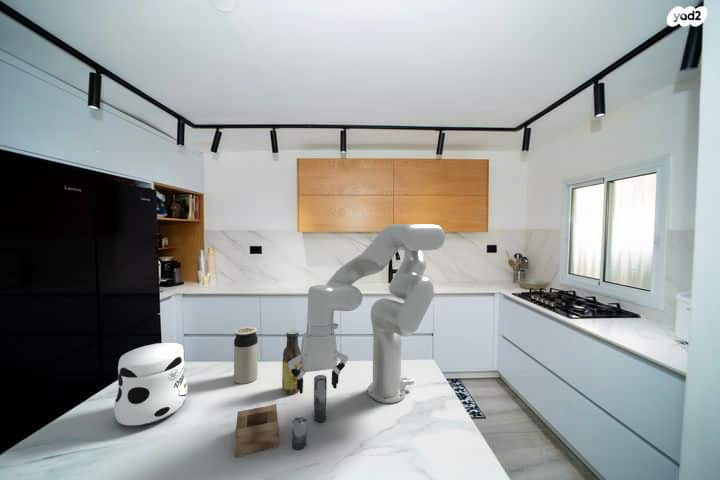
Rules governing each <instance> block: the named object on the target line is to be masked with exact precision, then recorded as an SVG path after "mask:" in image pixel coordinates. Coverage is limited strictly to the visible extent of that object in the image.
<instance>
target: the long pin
mask: <svg viewBox="0 0 720 480" xmlns="http://www.w3.org/2000/svg"><path fill="white" fill-rule="evenodd" d="M327 380H328V379H327V376H326V375H325V374H318V375H316V376H314V378H313V422H314V423H316V424H323V423H325V422H326V421H327V387H328V385H327V383H328V382H327Z"/></svg>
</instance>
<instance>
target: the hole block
mask: <svg viewBox="0 0 720 480" xmlns="http://www.w3.org/2000/svg"><path fill="white" fill-rule="evenodd" d="M277 407H278V406H277V404H271V405H270V404H269V405H265V406H260V407H259V406H258V407H255V408H249V409H244V410H239V411H237V415H236V416H237V417H236V424H235V426H236V427H235V432H234V458H239V457H243V456H247V455H250V454H251V455H252V454H254V453H259V452H263V451H267V450H271V449H275V448H279V446H280V445H279V444H280V443H279V439H280V438H279V436H280V434H279V433H280V432H279V431H280V430H279V429H280V427H279V417H278V409H277Z"/></svg>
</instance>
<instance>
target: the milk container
mask: <svg viewBox="0 0 720 480" xmlns="http://www.w3.org/2000/svg"><path fill="white" fill-rule="evenodd" d="M184 353H185V352H184V346H183V345H182V344H180V343H176V342H161V343H160V342H158V343H153V344H148V345H144V346H140V347H138V348H137V347H136V348H135V349H132V350H130V351H127V352H126V353H124V354H123V355H121V356H120V358H119V360H118V366H117V373H118V374H117V380H118V387H117V389H118V390H117V394H116V398H115V400H114V401H115V402H114V406H113V411H114V412H113V413H114V416H115V419H116V421H117V422H118V423H119V424H120V425H123V426H126V427H143V426H147V425H151V424H155V423H157V422H159V421H163V420H165V419H167V418H168V417H171V416H172V415H174V414H175V413H176V412H177V411H178V410H180V409H181V408H182V407H183V406H184V404H185V402H186V400H187V396H188V383H187V380H186V377H185V359H184V357H185V356H184V355H185V354H184Z"/></svg>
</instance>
